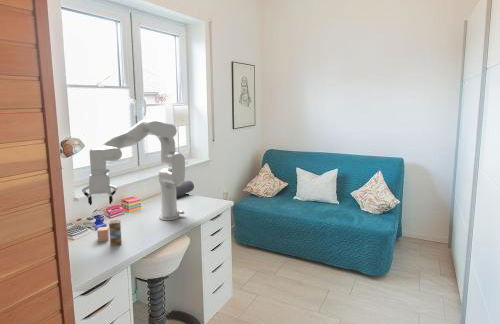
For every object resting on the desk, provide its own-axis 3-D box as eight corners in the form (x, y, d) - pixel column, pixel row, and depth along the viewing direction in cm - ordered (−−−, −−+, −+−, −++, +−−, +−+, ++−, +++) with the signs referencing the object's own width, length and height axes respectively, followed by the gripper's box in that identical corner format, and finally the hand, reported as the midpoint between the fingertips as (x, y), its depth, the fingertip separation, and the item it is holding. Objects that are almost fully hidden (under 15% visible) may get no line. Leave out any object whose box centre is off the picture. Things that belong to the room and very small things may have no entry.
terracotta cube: (109, 237, 197) (108, 226, 196) (108, 240, 193) (107, 229, 191) (99, 237, 196) (98, 227, 195) (98, 241, 191) (97, 230, 190)
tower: (121, 241, 192) (120, 219, 189) (120, 245, 187) (119, 222, 185) (111, 242, 190) (110, 220, 188) (110, 246, 185) (109, 223, 183)
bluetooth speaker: (185, 191, 291) (185, 179, 290) (194, 193, 287) (194, 180, 285) (165, 198, 272) (165, 185, 270) (175, 199, 268) (174, 186, 266)
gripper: (117, 169, 193) (118, 200, 196) (81, 171, 189) (84, 202, 192) (115, 172, 186) (117, 204, 189) (79, 174, 182) (81, 207, 185)
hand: (100, 203), depth 191 cm, fingers open, 9 cm apart
